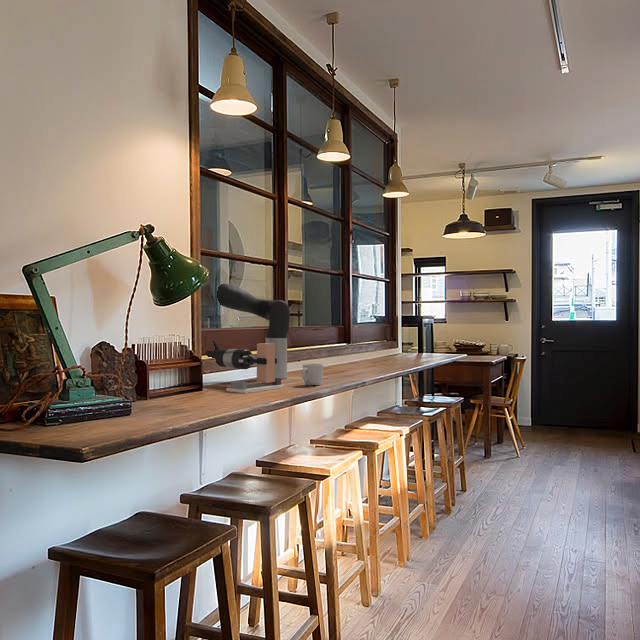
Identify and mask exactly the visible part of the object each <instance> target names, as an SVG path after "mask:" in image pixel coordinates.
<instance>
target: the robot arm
mask: <svg viewBox="0 0 640 640" xmlns="http://www.w3.org/2000/svg"><path fill="white" fill-rule="evenodd" d="M217 298H218V301H219V303H220V305H219V306H221V305H222V306H221V307H223V308H224V307H225V308H228V309H231V310H233V311H234V310H235V311H239V312H243V313H249V314H253V315H256V316H258V317H261V318H262V319H265V320H267V321H269V322H268V323H269V324H268V329H267V330H266V331H265V343H274V344H275V378H281V380H284V379H287V378H288V334H289V330H290V318H291V316H290V315H291V312H290V306H289V304H288V303H287V302H286V301H284V300H282V299H281V300H280V299H275V300H272V299H266V298H261V297H258V296H256V295H253V294H252V293H250V292H248V291H246V290H244V289H242V288H240V287H238V286H235V285H231V284H228V283H223V284H221V285H220V286H219V287H218V291H217ZM213 343H214V346H215V350H214V351H207V352H206V355H207V356H208V357H212V358H215V359H216V363H217V364H218V365H219V366H220V367H219V368H230V369H237V370H248V369H250V368H251V367H252V366H257V364H264V365H266V364H267V359H266V358H257V353H256V354H255V353H254V354H253V353H252V351H250V350H249V349H247V348H245V349H244V348H243V349H242V348H230V349H228V348H220V347H219V346H218V345H217V343H216V342H215V340H214V341H213Z"/></svg>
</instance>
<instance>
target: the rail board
mask: <svg viewBox="0 0 640 640" xmlns="http://www.w3.org/2000/svg"><path fill="white" fill-rule="evenodd" d="M278 388H279V389H284V388H286V385H285V384H282V379H281V378H275V382H269V383H262V382H256V383H248V382H247V381H241V380H231V381H230V387H227V388H226V392H232V393H240V394H241V393H242V394H248V393H257V392H263V391H270V390H272V391H273V390H278Z"/></svg>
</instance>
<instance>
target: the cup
mask: <svg viewBox="0 0 640 640" xmlns="http://www.w3.org/2000/svg"><path fill="white" fill-rule="evenodd" d="M323 371H324V364H323V363H303V364H302V370H301V377H302V380H303V383H304V385H306V386H311V385H316V386H320V385H321V384H322V382H323Z"/></svg>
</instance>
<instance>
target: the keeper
mask: <svg viewBox="0 0 640 640" xmlns="http://www.w3.org/2000/svg"><path fill="white" fill-rule="evenodd" d="M256 354H257V358H266V359H267V364H266V365H264V364H257V365H256V383H269V382H275V344H274V343H266V342H264V343H263V342H262V343H257V344H256Z"/></svg>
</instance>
